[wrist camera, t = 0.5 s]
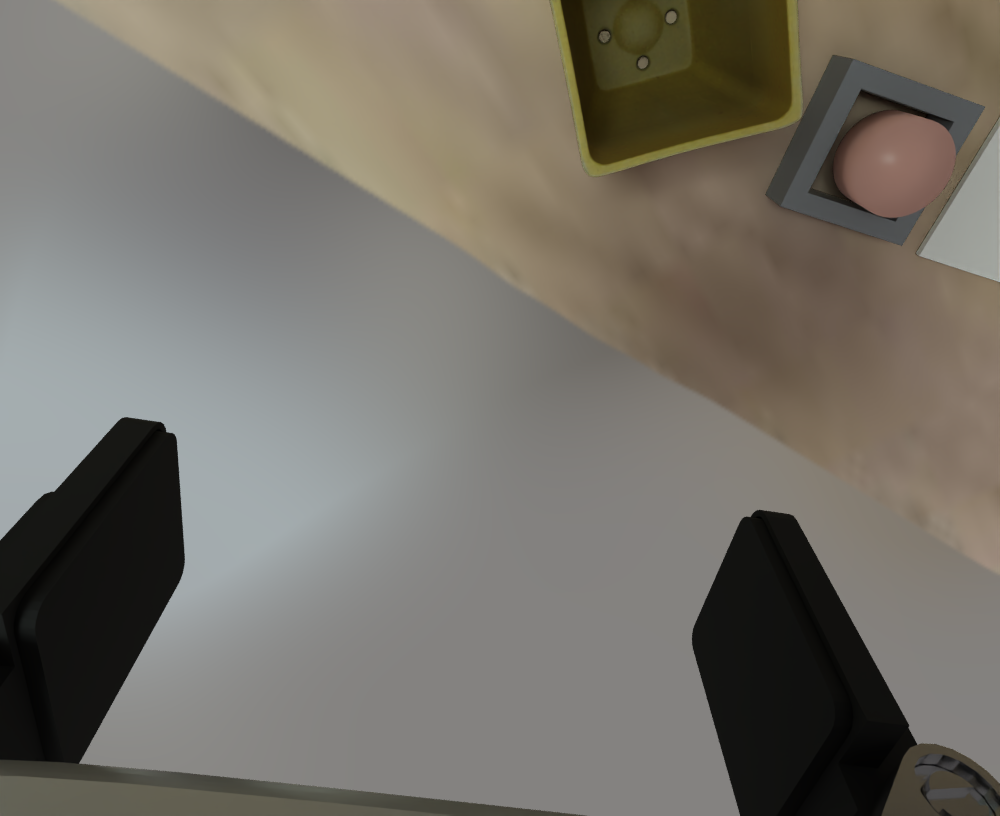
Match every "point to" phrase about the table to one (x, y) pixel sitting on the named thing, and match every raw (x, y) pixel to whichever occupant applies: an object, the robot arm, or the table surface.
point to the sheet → (971, 217)
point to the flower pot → (676, 75)
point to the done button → (894, 162)
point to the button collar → (825, 125)
